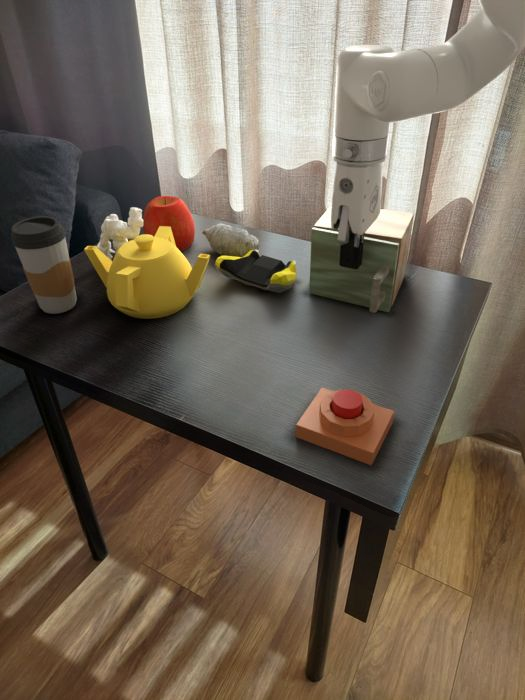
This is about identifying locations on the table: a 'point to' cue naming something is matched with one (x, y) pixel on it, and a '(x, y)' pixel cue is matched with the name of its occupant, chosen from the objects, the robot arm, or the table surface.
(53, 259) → the coffee cup
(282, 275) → the black and yellow shoe
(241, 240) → the seashell
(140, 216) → the figurine
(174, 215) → the apple
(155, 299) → the teapot
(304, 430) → the button block
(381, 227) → the cupboard
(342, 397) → the button
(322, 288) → the door
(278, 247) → the table surface
